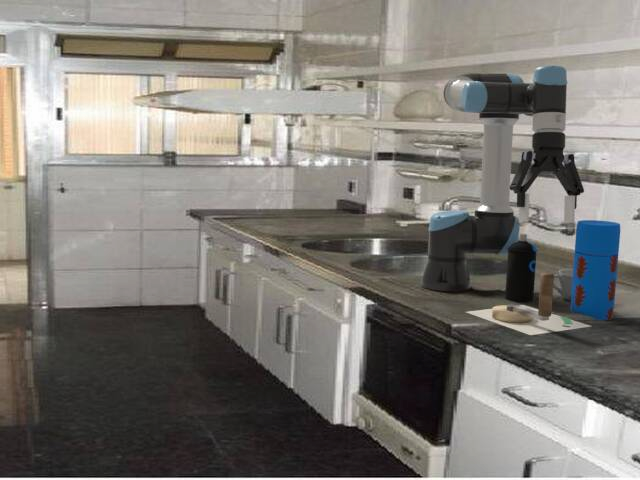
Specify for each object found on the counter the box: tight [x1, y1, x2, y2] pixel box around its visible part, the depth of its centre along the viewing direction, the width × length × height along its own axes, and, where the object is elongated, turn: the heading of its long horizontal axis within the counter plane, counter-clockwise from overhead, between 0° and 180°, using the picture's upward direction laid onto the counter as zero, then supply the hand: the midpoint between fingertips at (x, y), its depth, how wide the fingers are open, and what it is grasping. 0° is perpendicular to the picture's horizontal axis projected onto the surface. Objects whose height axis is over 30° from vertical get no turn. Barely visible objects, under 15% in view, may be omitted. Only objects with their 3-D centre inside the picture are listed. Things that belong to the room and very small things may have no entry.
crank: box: [491, 272, 555, 323], centre depth 192 cm, size 18×10×13 cm, turn 28°
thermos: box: [570, 219, 621, 322], centre depth 205 cm, size 11×11×25 cm
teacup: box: [553, 268, 573, 301], centre depth 226 cm, size 14×11×8 cm
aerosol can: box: [504, 232, 538, 303], centre depth 217 cm, size 8×8×20 cm
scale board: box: [465, 304, 592, 336], centre depth 196 cm, size 24×21×2 cm
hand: (546, 222), depth 184 cm, fingers open, 13 cm apart
